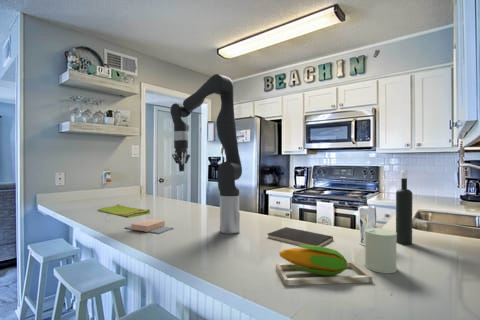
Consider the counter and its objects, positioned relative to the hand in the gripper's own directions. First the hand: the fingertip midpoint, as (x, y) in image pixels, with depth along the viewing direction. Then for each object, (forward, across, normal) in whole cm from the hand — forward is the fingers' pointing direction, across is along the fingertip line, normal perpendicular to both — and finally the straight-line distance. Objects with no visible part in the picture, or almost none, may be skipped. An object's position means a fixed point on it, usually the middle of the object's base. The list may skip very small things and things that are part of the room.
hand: (181, 171), depth 148 cm
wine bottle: (+32, -14, +104) cm, 110 cm away
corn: (+31, +33, +77) cm, 90 cm away
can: (+32, +19, +96) cm, 103 cm away
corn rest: (+32, +34, +80) cm, 93 cm away
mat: (+28, +20, -5) cm, 34 cm away
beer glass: (+32, -5, +91) cm, 97 cm away
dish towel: (+26, -2, -51) cm, 58 cm away
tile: (+26, +14, -5) cm, 30 cm away
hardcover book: (+31, +1, +65) cm, 72 cm away
